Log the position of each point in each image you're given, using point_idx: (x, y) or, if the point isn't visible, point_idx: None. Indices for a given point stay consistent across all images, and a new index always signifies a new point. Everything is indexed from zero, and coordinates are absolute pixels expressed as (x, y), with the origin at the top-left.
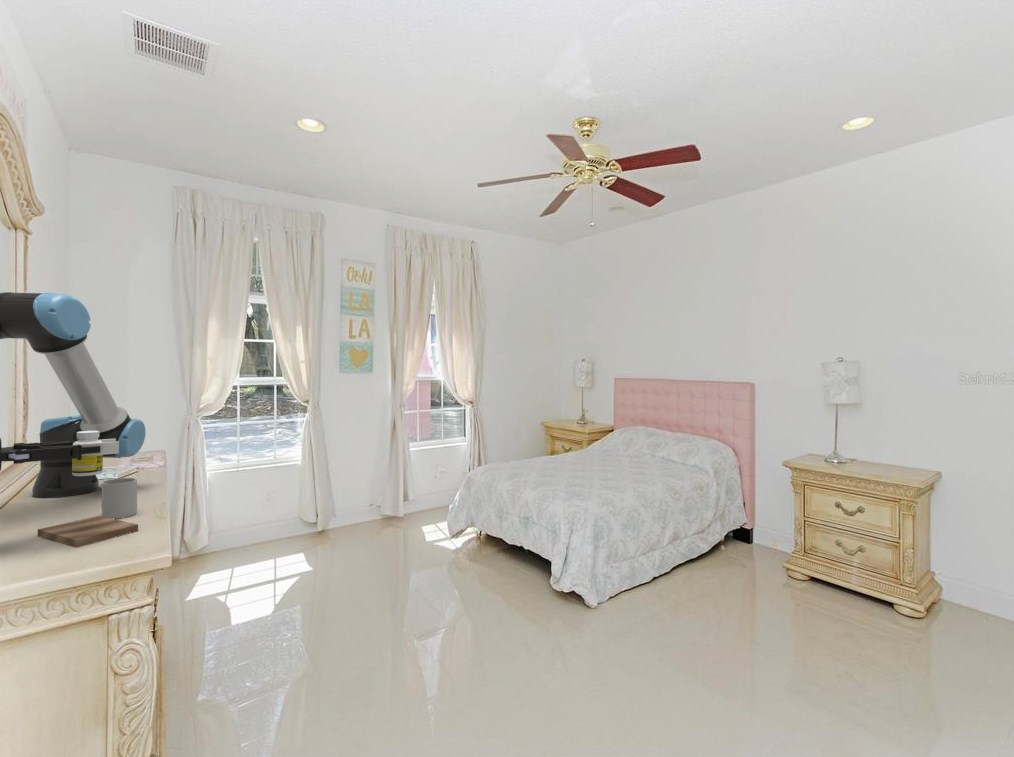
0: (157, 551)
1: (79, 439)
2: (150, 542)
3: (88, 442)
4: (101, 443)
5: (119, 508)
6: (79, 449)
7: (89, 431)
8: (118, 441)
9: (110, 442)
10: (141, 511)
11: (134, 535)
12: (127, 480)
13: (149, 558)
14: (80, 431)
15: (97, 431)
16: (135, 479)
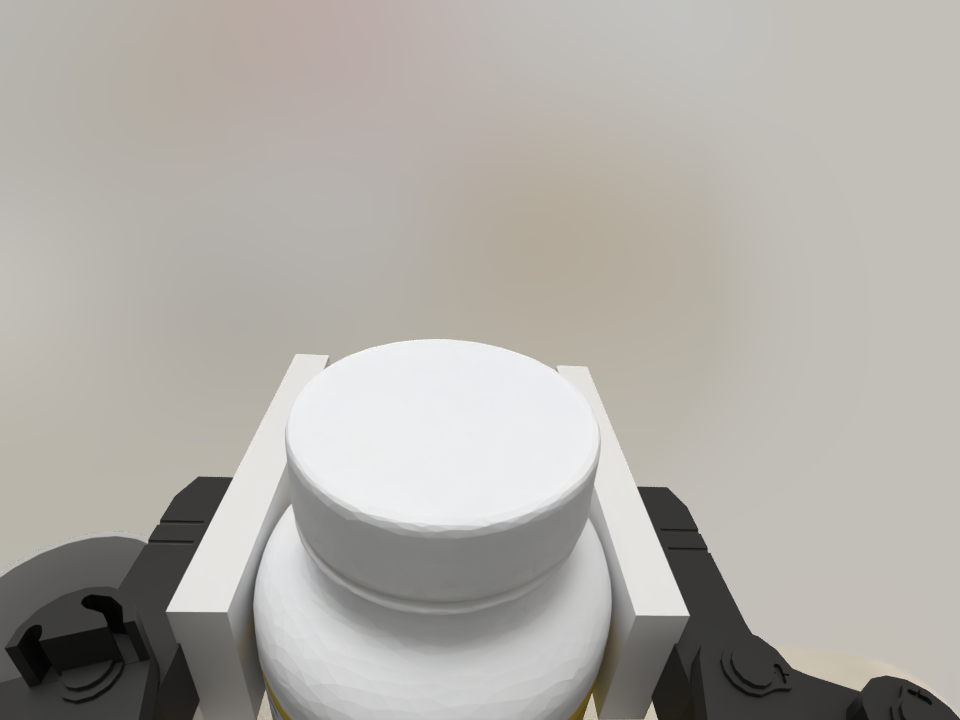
0: (864, 673)
1: (513, 595)
2: None
3: (582, 537)
4: (620, 457)
5: (196, 713)
6: (815, 690)
7: (412, 397)
8: (566, 366)
9: (601, 404)
10: None
11: (597, 717)
12: (25, 574)
13: (952, 709)
14: (317, 474)
15: (491, 350)
16: (110, 538)
